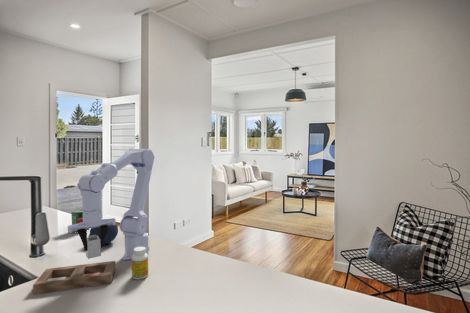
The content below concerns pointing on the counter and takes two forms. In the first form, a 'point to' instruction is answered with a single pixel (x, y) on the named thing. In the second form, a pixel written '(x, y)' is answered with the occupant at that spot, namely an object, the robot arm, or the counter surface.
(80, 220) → the canned tomato
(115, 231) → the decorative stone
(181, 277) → the counter surface
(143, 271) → the supplement bottle
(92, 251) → the plug
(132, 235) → the robot arm
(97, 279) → the socket board
